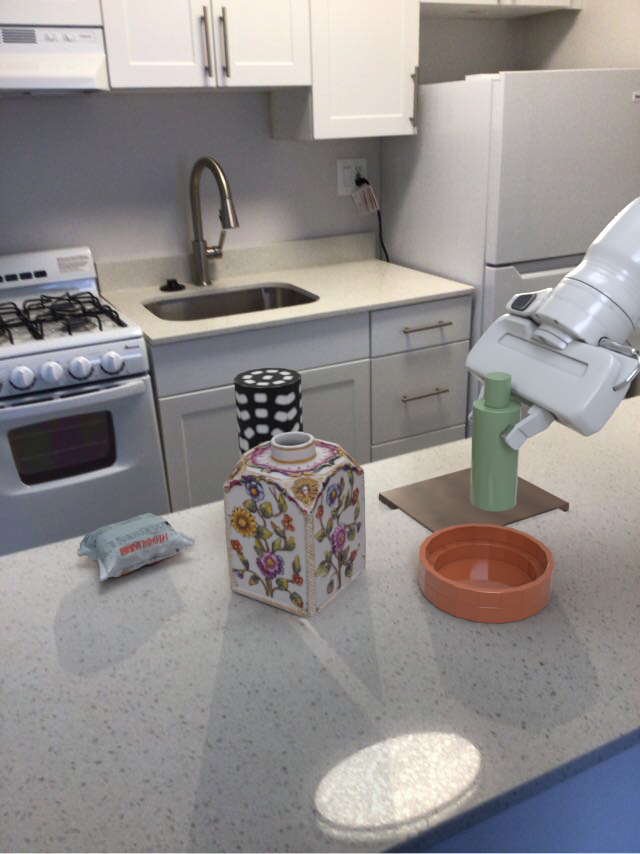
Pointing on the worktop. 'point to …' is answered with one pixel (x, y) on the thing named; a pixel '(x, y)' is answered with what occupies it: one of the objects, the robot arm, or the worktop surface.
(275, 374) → the spotted tube
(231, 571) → the decorative jar
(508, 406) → the bottle
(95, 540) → the packaged food
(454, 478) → the board
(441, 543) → the bowl
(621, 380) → the robot arm
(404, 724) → the worktop surface
